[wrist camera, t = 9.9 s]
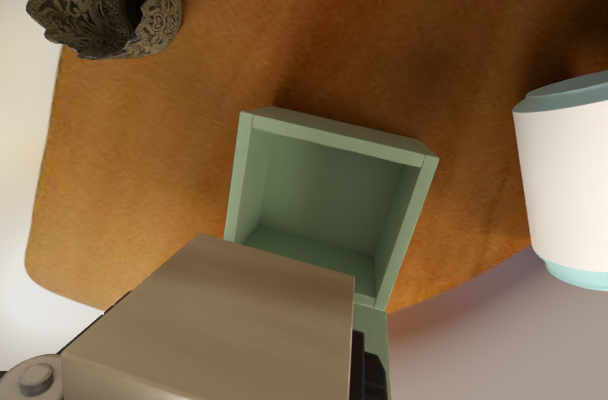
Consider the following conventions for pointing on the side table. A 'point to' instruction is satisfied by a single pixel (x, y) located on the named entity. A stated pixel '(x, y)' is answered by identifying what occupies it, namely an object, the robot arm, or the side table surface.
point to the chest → (328, 195)
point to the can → (567, 176)
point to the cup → (109, 25)
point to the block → (220, 331)
